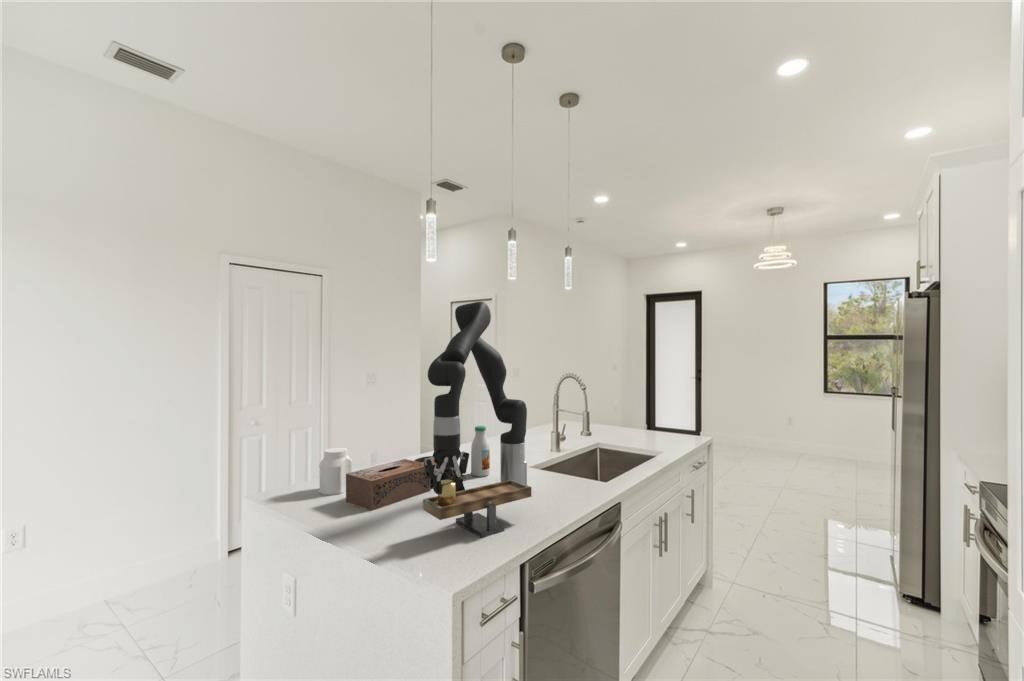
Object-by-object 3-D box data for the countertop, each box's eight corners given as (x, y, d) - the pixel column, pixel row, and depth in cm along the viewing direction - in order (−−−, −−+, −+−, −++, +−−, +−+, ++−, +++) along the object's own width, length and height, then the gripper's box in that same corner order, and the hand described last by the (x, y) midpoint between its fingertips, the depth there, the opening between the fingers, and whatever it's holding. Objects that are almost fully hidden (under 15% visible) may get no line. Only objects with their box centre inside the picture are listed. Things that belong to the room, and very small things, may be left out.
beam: (511, 488, 152) (511, 479, 152) (531, 496, 144) (531, 487, 144) (422, 509, 133) (422, 498, 133) (440, 520, 124) (440, 509, 124)
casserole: (471, 477, 190) (470, 456, 190) (451, 491, 172) (451, 468, 172) (416, 472, 197) (416, 452, 197) (392, 485, 179) (392, 463, 179)
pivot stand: (477, 516, 146) (477, 491, 146) (504, 530, 135) (504, 503, 135) (455, 522, 141) (455, 496, 141) (481, 537, 130) (481, 509, 130)
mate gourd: (462, 505, 156) (461, 475, 156) (440, 504, 158) (440, 475, 158) (468, 498, 163) (467, 470, 163) (447, 497, 165) (447, 469, 165)
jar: (335, 496, 166) (335, 454, 166) (314, 493, 170) (314, 452, 170) (356, 486, 177) (356, 447, 177) (336, 484, 180) (336, 445, 180)
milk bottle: (475, 478, 188) (475, 428, 189) (468, 473, 195) (468, 425, 195) (492, 475, 192) (492, 427, 192) (485, 471, 199) (485, 424, 199)
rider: (450, 499, 135) (450, 478, 135) (459, 504, 131) (459, 482, 131) (434, 502, 132) (434, 481, 132) (443, 507, 128) (443, 486, 128)
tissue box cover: (404, 484, 181) (404, 458, 181) (430, 491, 172) (430, 464, 172) (345, 502, 160) (345, 473, 160) (371, 511, 152) (371, 481, 152)
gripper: (461, 427, 139) (461, 483, 139) (417, 432, 130) (417, 493, 130) (475, 430, 133) (475, 490, 133) (430, 436, 125) (430, 500, 124)
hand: (446, 491), depth 132 cm, fingers closed on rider, 5 cm apart
